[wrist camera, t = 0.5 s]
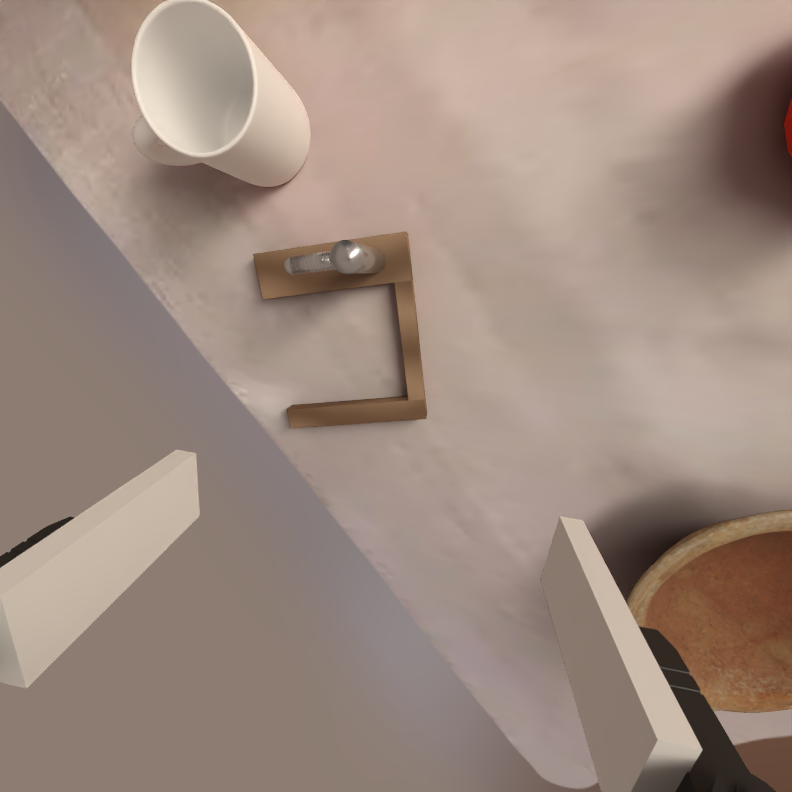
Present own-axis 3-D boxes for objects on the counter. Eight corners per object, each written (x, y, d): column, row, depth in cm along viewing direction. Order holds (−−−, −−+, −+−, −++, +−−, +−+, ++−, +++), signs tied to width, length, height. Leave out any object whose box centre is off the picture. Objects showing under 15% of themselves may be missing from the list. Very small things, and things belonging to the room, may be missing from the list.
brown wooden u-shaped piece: (260, 254, 37) (253, 254, 35) (407, 233, 34) (406, 231, 33) (296, 422, 42) (290, 428, 40) (426, 413, 39) (426, 418, 38)
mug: (211, 218, 36) (123, 198, 27) (170, 121, 34) (60, 61, 25) (327, 168, 34) (278, 126, 24) (291, 59, 32) (221, -34, 22)
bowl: (569, 630, 45) (593, 702, 38) (631, 444, 38) (677, 488, 30) (788, 673, 43) (860, 758, 35) (901, 485, 35) (1023, 543, 28)
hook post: (322, 256, 35) (274, 250, 25) (384, 247, 34) (358, 237, 24) (326, 279, 35) (280, 282, 26) (387, 271, 34) (363, 271, 25)
